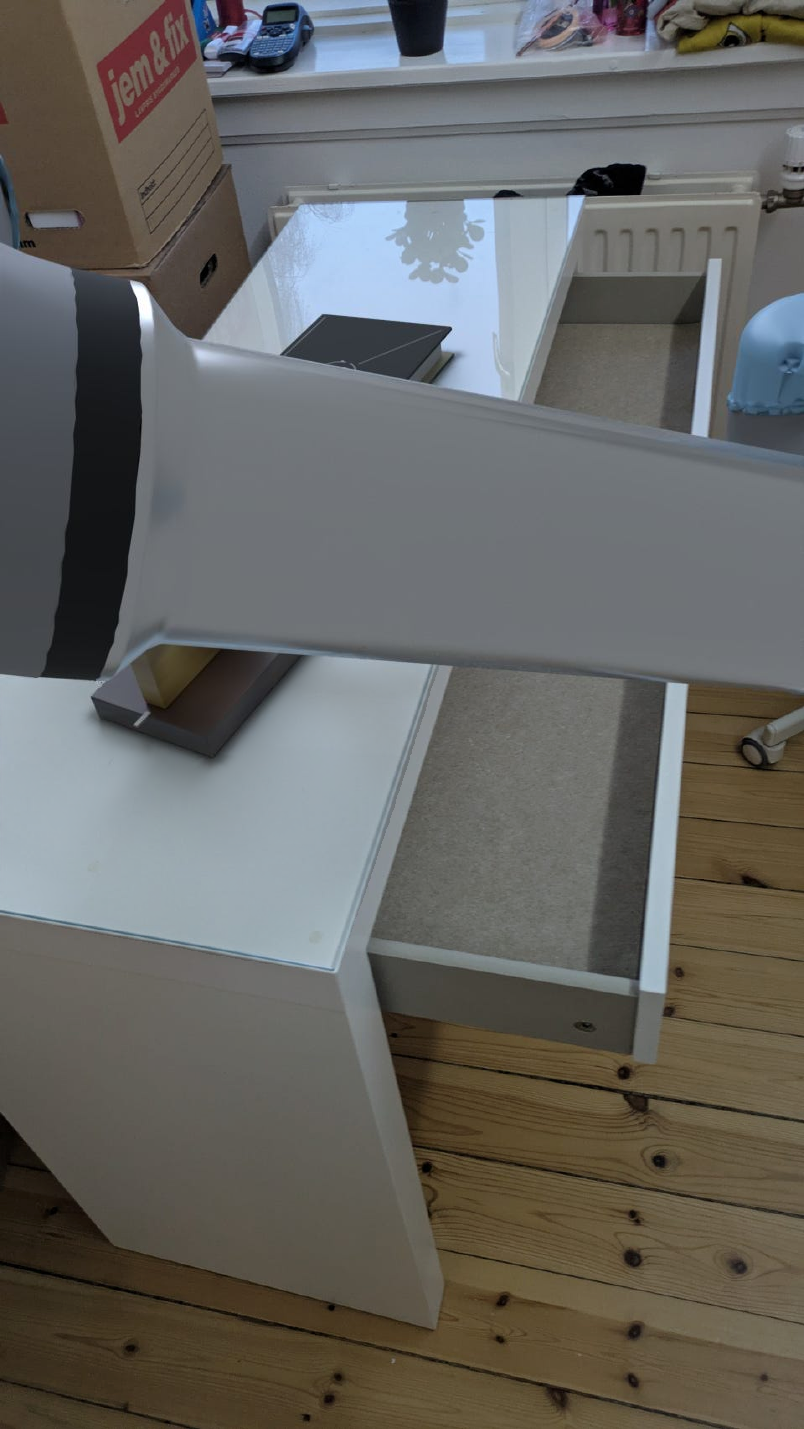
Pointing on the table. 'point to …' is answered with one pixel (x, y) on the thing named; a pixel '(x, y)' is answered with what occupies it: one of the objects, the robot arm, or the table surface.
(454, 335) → the table surface
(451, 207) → the table surface
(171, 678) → the tan flat piece
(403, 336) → the book
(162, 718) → the lock plate
